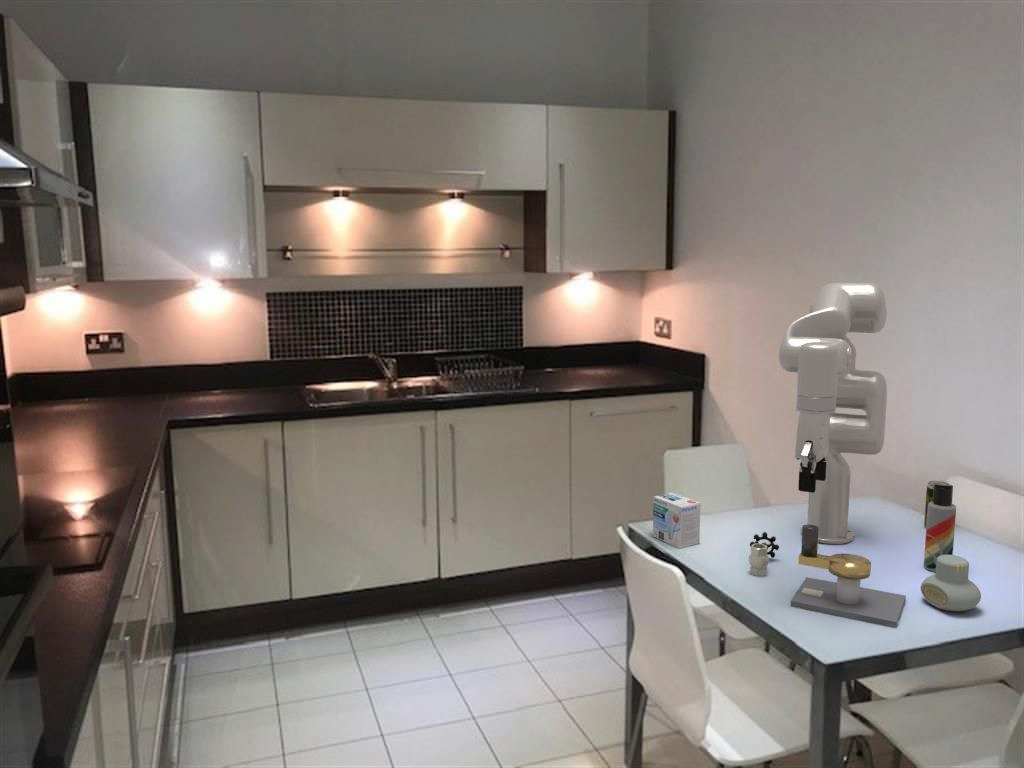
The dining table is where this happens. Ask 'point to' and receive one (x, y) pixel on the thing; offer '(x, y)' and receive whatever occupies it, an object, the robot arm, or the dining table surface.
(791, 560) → the dining table surface
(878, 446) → the robot arm
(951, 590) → the air freshener
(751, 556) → the valve
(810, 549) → the brass knob with handle
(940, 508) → the lotion bottle
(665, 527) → the light bulb box
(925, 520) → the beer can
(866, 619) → the post base
